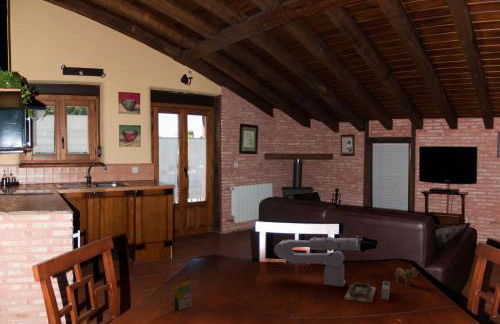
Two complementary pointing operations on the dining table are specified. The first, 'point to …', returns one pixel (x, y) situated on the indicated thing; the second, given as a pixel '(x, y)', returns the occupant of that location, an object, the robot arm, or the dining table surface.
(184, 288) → the crayon box
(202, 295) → the dining table surface
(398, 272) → the lion figurine
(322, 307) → the dining table surface
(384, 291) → the grey pillar with nub
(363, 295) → the cradle jig
